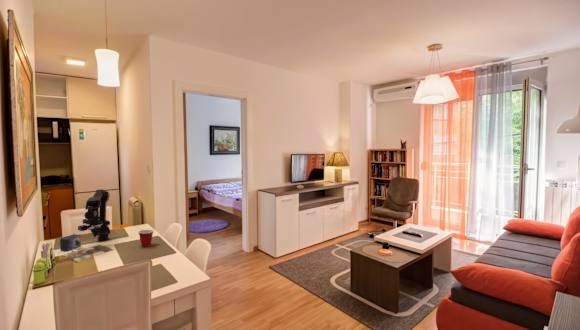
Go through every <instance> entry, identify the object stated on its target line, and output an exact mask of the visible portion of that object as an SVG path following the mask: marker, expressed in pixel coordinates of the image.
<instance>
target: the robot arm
mask: <svg viewBox="0 0 580 330" xmlns="http://www.w3.org/2000/svg"><path fill="white" fill-rule="evenodd" d="M110 197H111V195H110V193H109V191H106V190H105V189H96V190H95V193H94V194H93V196H91V197H89V198H88V199H86V203H85V211H86V210H87V211H86V212H85V213H84V219H82V225H78V226H77V230H78V231H79V232H84V231H90V232H91V234H92V235H93V237H94V238H96V237H97V242H105V241H108V240H109V235H110V234H111V228H110V227H109V226H110V225H111V222H110V220H107V203H108V201H109V198H110Z"/></svg>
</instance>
